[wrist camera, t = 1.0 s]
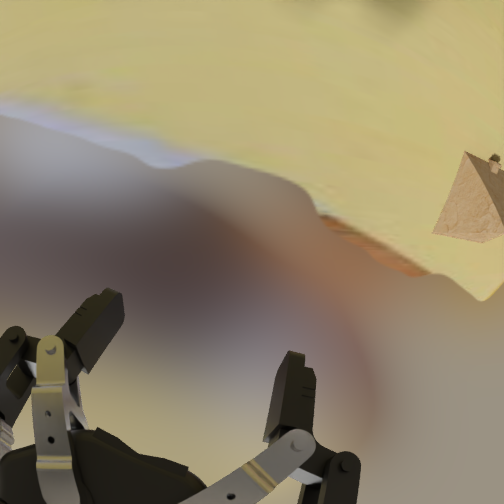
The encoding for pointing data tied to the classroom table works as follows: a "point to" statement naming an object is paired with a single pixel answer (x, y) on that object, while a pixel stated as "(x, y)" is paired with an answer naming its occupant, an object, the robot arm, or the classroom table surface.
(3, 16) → the classroom table surface
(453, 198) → the model pyramid
